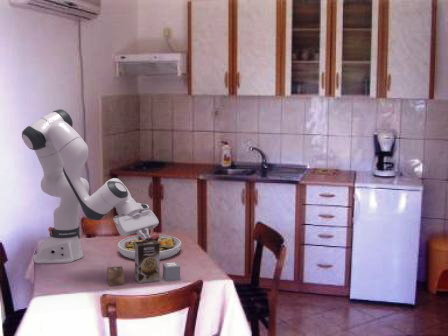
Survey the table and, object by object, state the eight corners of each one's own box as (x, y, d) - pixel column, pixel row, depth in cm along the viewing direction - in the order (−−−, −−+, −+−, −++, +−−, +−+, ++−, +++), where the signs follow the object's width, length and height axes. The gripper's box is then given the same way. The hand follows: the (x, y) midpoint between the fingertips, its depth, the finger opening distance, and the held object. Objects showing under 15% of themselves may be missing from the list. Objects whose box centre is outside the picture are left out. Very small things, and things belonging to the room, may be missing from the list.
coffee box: (138, 283, 237) (138, 245, 235) (134, 278, 243) (134, 241, 240) (160, 280, 241) (159, 243, 238) (155, 276, 247) (155, 239, 244)
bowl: (189, 258, 271) (189, 242, 269) (125, 266, 260) (125, 249, 259) (171, 241, 298) (171, 226, 297) (112, 247, 287) (112, 232, 286)
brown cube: (109, 286, 234) (109, 271, 233) (107, 281, 240) (107, 267, 239) (124, 285, 236) (124, 270, 235) (122, 280, 242) (121, 265, 241)
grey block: (166, 281, 240) (165, 267, 239) (162, 276, 246) (162, 262, 245) (180, 280, 242) (180, 265, 241) (176, 275, 248) (176, 261, 247)
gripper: (115, 212, 233) (132, 240, 228) (150, 203, 249) (167, 229, 245) (107, 221, 236) (125, 249, 232) (143, 212, 252) (160, 238, 248)
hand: (147, 239), depth 238 cm, fingers closed
